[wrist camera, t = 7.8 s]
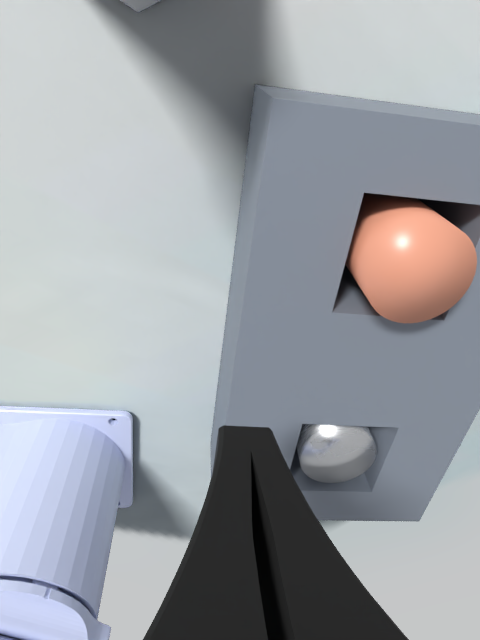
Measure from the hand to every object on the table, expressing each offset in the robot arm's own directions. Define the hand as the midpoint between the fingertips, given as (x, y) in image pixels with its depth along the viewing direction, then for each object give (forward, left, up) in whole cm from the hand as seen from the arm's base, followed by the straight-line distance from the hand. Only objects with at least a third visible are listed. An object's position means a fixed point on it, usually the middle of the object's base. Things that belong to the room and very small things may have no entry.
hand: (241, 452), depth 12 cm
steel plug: (+6, -6, -10) cm, 13 cm away
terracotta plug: (+6, +4, -9) cm, 11 cm away
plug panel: (+6, -1, -10) cm, 12 cm away
